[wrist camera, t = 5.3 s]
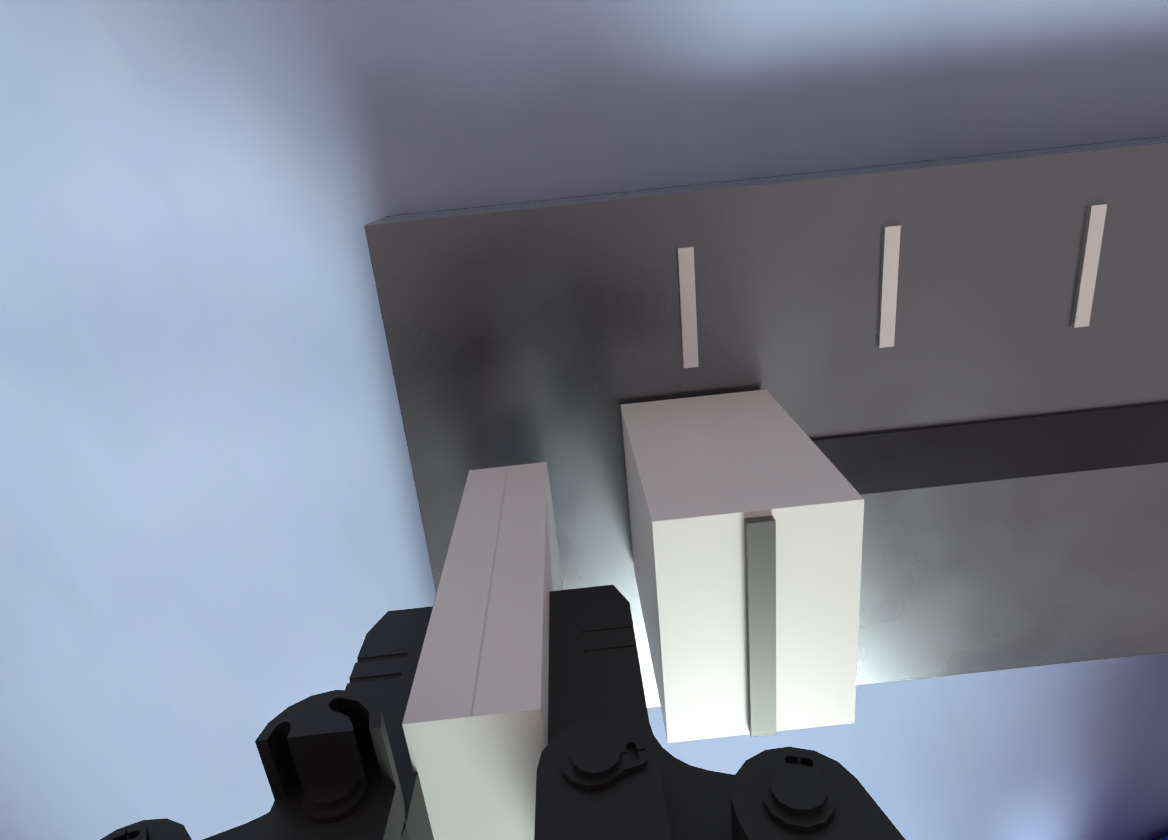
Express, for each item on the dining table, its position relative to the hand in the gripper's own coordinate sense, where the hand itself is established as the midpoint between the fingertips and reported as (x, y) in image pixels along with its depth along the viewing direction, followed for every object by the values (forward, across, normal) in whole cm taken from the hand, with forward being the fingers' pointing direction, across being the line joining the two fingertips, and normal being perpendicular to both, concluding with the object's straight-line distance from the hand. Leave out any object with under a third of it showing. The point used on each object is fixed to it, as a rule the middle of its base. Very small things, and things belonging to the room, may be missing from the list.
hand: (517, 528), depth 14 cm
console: (+4, +13, 0) cm, 13 cm away
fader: (+1, +4, 0) cm, 4 cm away
